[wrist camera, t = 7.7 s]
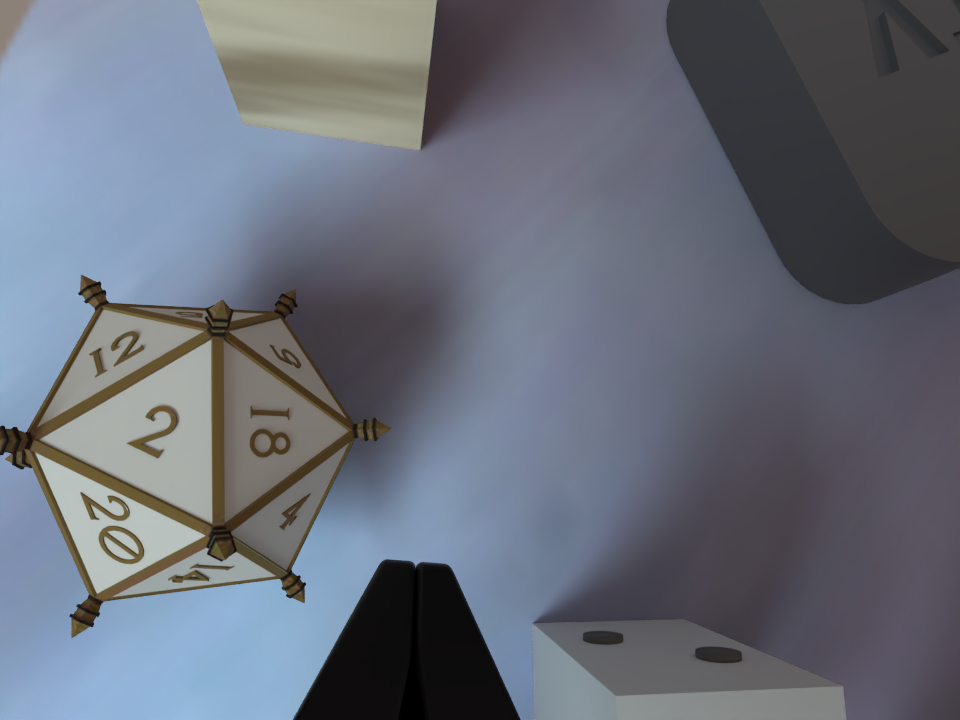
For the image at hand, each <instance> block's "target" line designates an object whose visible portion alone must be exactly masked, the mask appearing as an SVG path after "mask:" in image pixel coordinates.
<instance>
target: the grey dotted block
mask: <svg viewBox="0 0 960 720" xmlns="http://www.w3.org/2000/svg"><path fill="white" fill-rule="evenodd" d="M532 627H533V695H534V720H846V712H845V701H844V690H843V686H841V685H839V684H837V683H834V682H832V681H830V680H827V679H825V678H822V677H820V676H818V675H815V674H813V673H811V672H808V671H806V670H804V669H801V668H799V667H796V666H794V665H792V664H789V663H787V662H785V661H782V660H780V659H777V658H775V657H773V656H770V655H768V654H766V653H763V652H761V651H759V650H756V649H754V648H751V647H749V646H747V645H744V644H742V643H740V642H737V641H735V640H733V639H730V638H728V637H725V636H723V635H721V634H718V633H716V632H714V631H711V630H709V629H706V628H704V627H702V626H699V625H697V624H695V623H692V622H690V621H688V620H685V619H665V620H629V621H592V622H555V623H532Z"/></svg>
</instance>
